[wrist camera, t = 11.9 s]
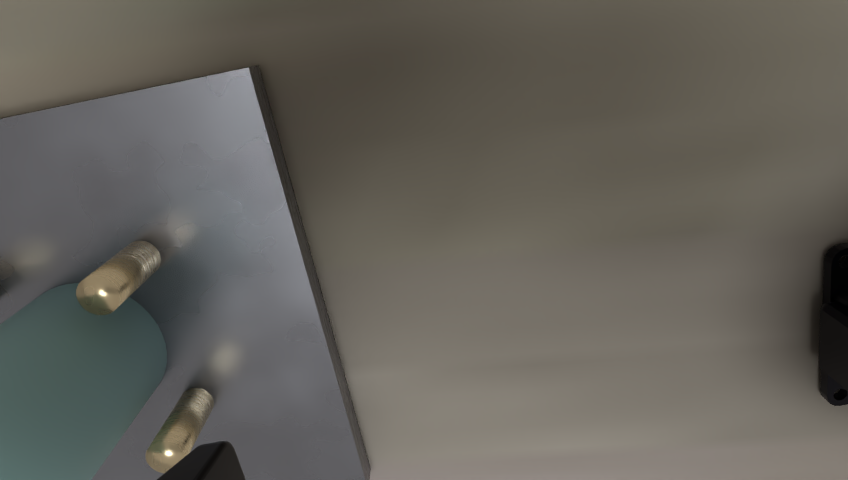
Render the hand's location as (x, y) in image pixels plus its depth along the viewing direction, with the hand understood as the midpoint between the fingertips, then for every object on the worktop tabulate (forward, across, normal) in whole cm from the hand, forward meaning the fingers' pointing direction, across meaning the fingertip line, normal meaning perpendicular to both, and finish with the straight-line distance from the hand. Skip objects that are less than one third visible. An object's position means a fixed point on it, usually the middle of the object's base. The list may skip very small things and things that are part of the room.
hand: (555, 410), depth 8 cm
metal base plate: (+13, +14, +3) cm, 19 cm away
